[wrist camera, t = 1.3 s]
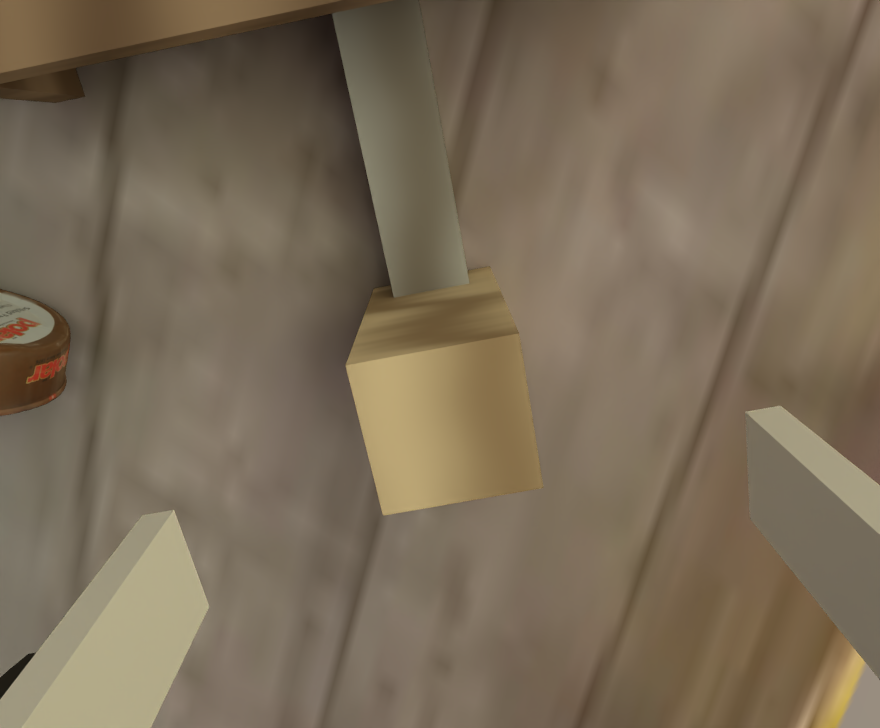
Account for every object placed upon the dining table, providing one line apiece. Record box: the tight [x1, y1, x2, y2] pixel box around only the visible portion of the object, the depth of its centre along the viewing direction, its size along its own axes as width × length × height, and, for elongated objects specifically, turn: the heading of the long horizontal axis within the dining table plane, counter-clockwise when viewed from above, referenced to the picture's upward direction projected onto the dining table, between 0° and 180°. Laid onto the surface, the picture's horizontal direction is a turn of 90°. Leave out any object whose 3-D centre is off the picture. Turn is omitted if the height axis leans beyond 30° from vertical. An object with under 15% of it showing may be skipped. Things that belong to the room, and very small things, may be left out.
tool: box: [332, 0, 543, 516], centre depth 22 cm, size 5×22×10 cm, turn 11°
